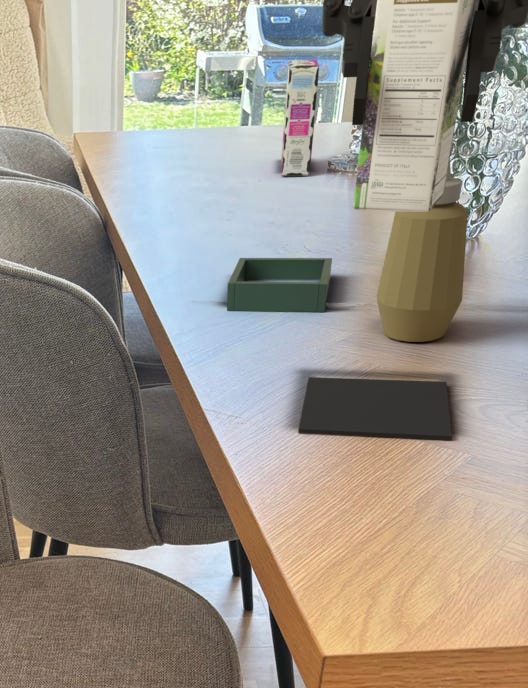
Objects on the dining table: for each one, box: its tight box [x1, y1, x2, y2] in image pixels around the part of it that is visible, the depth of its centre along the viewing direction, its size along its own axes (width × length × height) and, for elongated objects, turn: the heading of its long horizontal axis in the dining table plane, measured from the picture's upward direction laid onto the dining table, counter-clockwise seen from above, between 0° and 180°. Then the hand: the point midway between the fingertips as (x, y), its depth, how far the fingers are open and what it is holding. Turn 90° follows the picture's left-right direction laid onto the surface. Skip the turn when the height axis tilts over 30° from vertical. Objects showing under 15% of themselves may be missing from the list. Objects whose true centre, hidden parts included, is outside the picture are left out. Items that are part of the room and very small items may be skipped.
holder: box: [226, 257, 333, 313], centre depth 112 cm, size 11×11×3 cm
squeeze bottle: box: [376, 159, 469, 343], centre depth 95 cm, size 8×8×18 cm
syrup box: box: [352, 0, 475, 212], centre depth 72 cm, size 6×6×14 cm
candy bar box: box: [280, 59, 320, 177], centre depth 167 cm, size 11×5×16 cm, turn 169°
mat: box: [297, 376, 453, 441], centre depth 85 cm, size 12×12×1 cm
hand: (413, 110), depth 69 cm, fingers closed on syrup box, 7 cm apart
